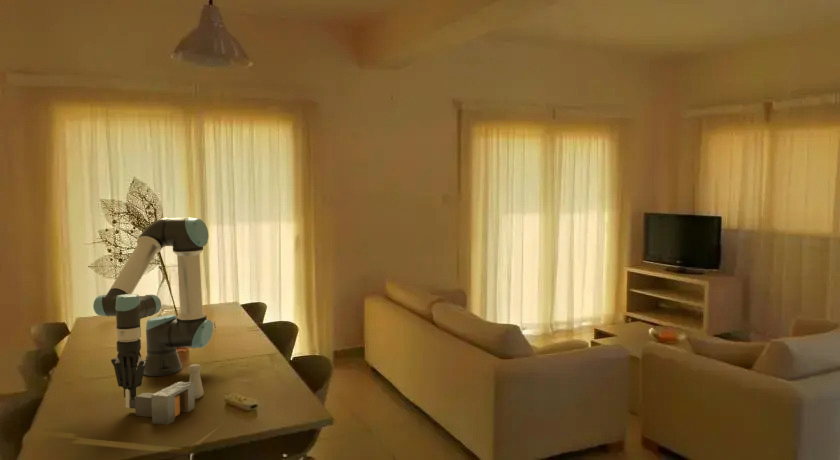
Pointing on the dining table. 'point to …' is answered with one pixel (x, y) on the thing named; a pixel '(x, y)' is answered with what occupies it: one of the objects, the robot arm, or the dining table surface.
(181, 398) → the block
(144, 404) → the plug
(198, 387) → the salt shaker
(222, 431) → the dining table surface
